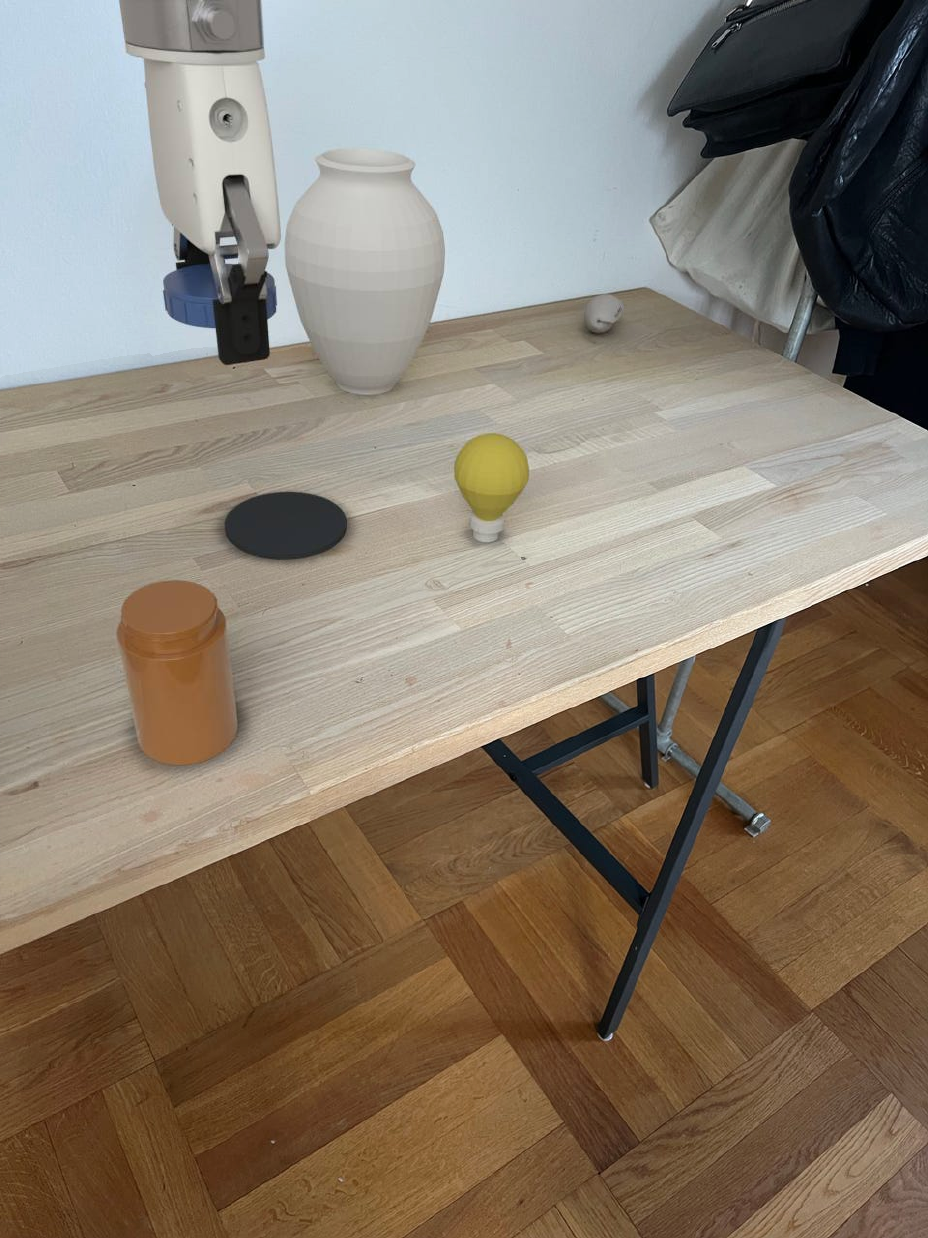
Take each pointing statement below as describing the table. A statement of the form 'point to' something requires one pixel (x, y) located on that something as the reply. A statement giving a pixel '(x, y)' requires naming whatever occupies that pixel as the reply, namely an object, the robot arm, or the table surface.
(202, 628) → the jar
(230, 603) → the table surface
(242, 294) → the robot arm
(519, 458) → the light bulb
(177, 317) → the lid
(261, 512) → the coaster
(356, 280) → the vase
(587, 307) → the stone
